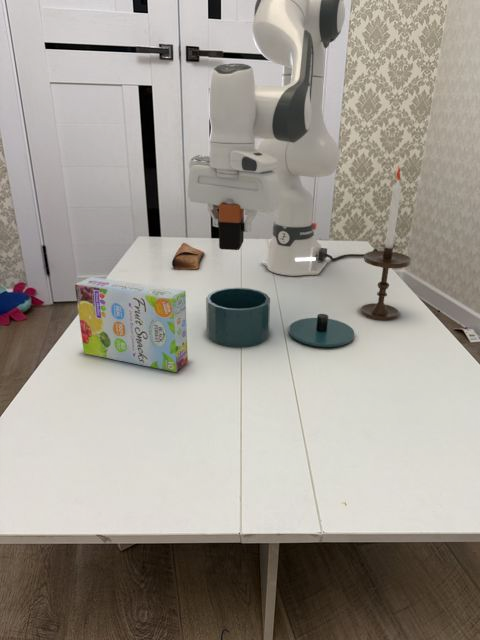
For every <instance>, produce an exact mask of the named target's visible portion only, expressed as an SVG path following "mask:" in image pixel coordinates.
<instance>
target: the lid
mask: <svg viewBox="0 0 480 640" xmlns="http://www.w3.org/2000/svg"><path fill="white" fill-rule="evenodd" d="M288 333H289V335H290V336H291V338H292V339H294V340H295V341H297V342H300V343H301V344H305V345H309V346H314V347H325V348H331V347H340V346H344V345H346V344H349V343H351V342H352V341H353V340H354V337H355V330H354V329H353V328H352V327H351V326H350V325H349V324H347V323H346V322H344V321H340V320H337V319H333V318H329V315H328V314H326V313H319V314H317V316H316V317H307V318H302V319H298V320H295V321H294V322H291V324H290V325H289V326H288Z"/></svg>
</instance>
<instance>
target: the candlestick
mask: <svg viewBox="0 0 480 640" xmlns="http://www.w3.org/2000/svg"><path fill="white" fill-rule="evenodd" d="M401 171H402V170H401V168H400V165H398V166H397V171H396V183H395V185H394V186H392V192H391V199H390V205H389V206H390V207H389V213H388V219H387V220H388V221H387V228H386V235H385V243H383V244H380V245H379V246H380V247H381V248H383V250H378V251H373V250H371V251H368V252H365V253H364V254H365V255H364V257H363V261H364V263H366V264H368V265H371V266H374V267H379V268H381V269H382V272H381V279H380V281H379V282H377V287H378V289H379V290H378V291H377V292H376V295H377V296H378V300H377V303H375V302H374V303H366V304H364V305H362V306H361V310H360V311H361V312H360V313H361V314H362V315H363V317H366V318H369V319H371V320H376V321H392V320H395V319H397V318H398V317H399V310H398V309H397V308H396V307H394V306H392V305H389V304H385V298H386V297H387V296H388V293H386V291H387V290H388V288H389V287H390V283H389V282H388V275H389V269H404V268H407V267H409V266H410V265H411V260H412V259H411V257H410V256H408V255H407V254H404V253H401V252H396V251H394V249H397V248H398V246H397V245H395V244H394V242H395V237H396V228H397V221H398V214H399V209H400V202H401V194H402V189H403V188H402V187H401V183H400V182H401V181H400V180H401Z"/></svg>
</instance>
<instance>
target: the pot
mask: <svg viewBox="0 0 480 640" xmlns="http://www.w3.org/2000/svg"><path fill="white" fill-rule="evenodd" d="M205 311H206V312H205V313H206V314H205V315H206V316H205V318H206V333H207V334H206V335H207V338H208V340H209V341H211V342H212V343H215V344H217V345H220V346H223V347H229V348H249V347H253V346H258V345H260V344H262V343H264V342H265V341H266V340H267V339H268V338H269V334H270V333H269V332H270V317H271V316H270V315H271V313H270V311H271V298H270V296H269V295H268V294H267V293H265V292H263V291H261V290H258V289H253V288H249V287H227V288H226V287H225V288H221V289H217V290H214V291H212V292H210V293H208V295H207V296H206V297H205Z"/></svg>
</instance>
